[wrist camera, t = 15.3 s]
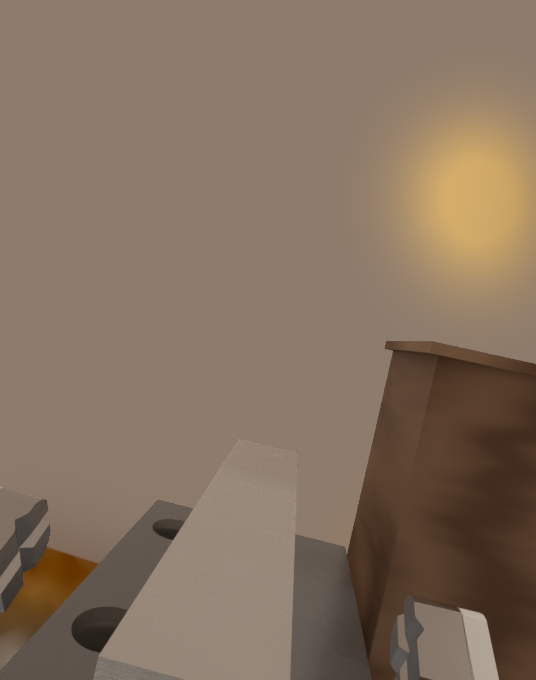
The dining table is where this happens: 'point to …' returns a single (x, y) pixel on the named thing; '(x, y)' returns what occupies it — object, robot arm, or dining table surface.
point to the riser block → (135, 569)
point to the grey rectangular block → (219, 583)
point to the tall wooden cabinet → (451, 500)
